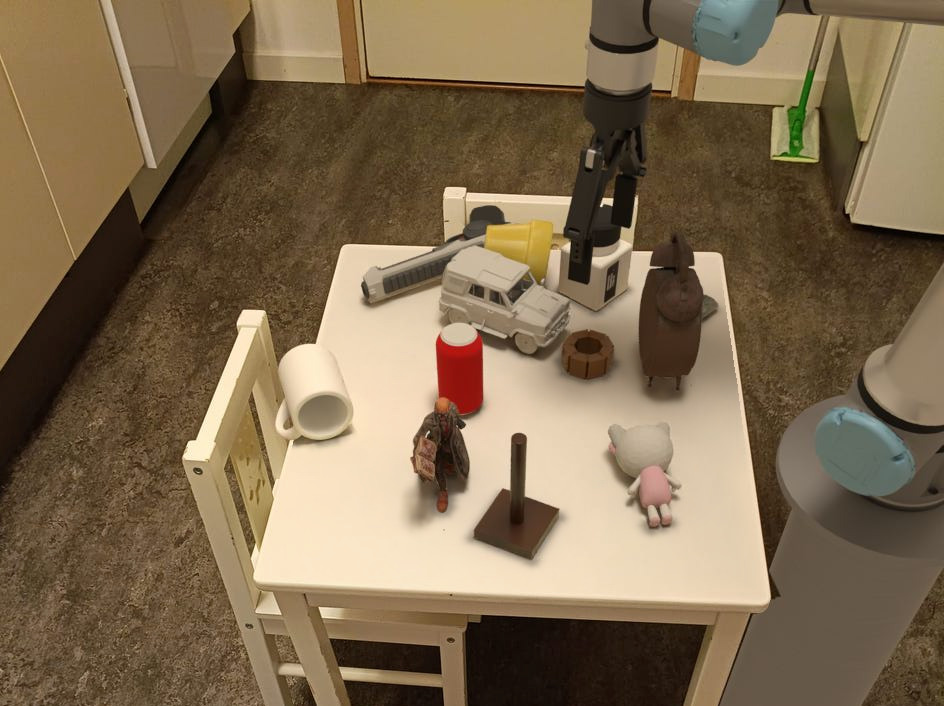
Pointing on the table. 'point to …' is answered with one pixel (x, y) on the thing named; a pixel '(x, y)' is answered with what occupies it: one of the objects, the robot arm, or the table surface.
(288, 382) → the mug
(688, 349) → the alarm clock
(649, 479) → the toy
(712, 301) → the stone
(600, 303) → the container
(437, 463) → the figurine
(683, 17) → the robot arm
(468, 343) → the beverage can
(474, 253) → the toy car
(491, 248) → the flower pot
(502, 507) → the peg stand
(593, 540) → the table surface
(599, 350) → the ring
